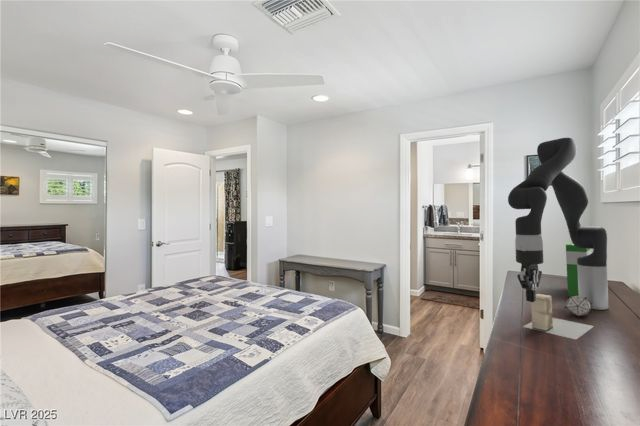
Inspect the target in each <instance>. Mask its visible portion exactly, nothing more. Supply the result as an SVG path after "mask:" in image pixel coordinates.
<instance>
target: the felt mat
mask: <svg viewBox="0 0 640 426" xmlns="http://www.w3.org/2000/svg"><path fill="white" fill-rule="evenodd" d="M552 318H553V328H552V329H550V330H549V331H547V332H545V333H547V334H552V335H554V336H555V335H556V336H559V337H563V338H567V339H572V340H575V341H576V340H578V339H579V338H581V336H584V334H586V333H587V332H589V331H590V330H591V329H593V328H594V327H595V326H594V325H591V324H590V325H589V324H586V323H580V322H576V321H570V320H566V319H561V318H556V317H552ZM522 328H527V329H530V330H534V331H536V330H535V329H532V321H530V322H529V323H528V322H527V324H524V325H522ZM537 331H539V330H537ZM539 332H540V331H539ZM541 332H542V333H544V332H543V331H541Z"/></svg>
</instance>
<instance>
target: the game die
mask: <svg viewBox="0 0 640 426" xmlns="http://www.w3.org/2000/svg"><path fill="white" fill-rule="evenodd" d="M568 297H569V298H568V299H564V301H565V302H566V304H565V306H564V307H563V309H567V310H568V311H569V314H573V315H575V316H577V318H578V319H579V318H580V317H581V316H586V317H589V315H588V314H589V313H590V312H591V313H592V312H594V311H593V309H592V310H591V308H590V304H593V303H589V302H588V301H587V300H586V298H587V297H585V298H583V297H581V296H579V294H577V296H570V295H569V296H568Z"/></svg>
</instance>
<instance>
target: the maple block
mask: <svg viewBox="0 0 640 426" xmlns="http://www.w3.org/2000/svg"><path fill="white" fill-rule="evenodd" d="M535 295H536V301H534V302H530V305H531V306H530V307H531V308H530V309H531V311H530V312H531V322H532V329H531V330H534V329H535V330H534V331H538V330H539V332H542V331H543V332H542V333H546V332H547V331H549V330H550V329H552V328H553V318H554V317H553V300H552V295H549V294H541V293H535Z"/></svg>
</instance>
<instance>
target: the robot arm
mask: <svg viewBox="0 0 640 426" xmlns="http://www.w3.org/2000/svg"><path fill="white" fill-rule="evenodd" d="M536 149H537V150H536V153H537V158H538V160H539V163H540V165H538V166H536V167H535V168H533V170H532V171H531V172H530V173H529V174H528V176H527V177H526V178H525V180H523V181H522V182H520V183H519V184H517V185H516V186H514V187H513V188H512V189H511V190H510V192H509V194H508V196H507V203H508V205H509V207H511V208H513V209H514V210H530V211H529V213H528V214H527V215H523V216H519V217H517V218H516V219H515V240H514V245H515V246H514V247H515V262H516V263H518V264H521V267H520V274H519V273H518V274H517V276H516V277H517V279H518V282H519V284H520V286H521V288H522V289H523V290H525V299H526V301H527V302H529V303H531V302H534V301H536V290H537V289H538V287H539V285H540V283H541V278H542V275H543V273H542V271H541V270H540V269H539V265H541V264H543V263H544V245H543V244H544V243H543V235H542V221H543V220H542V219H543V213H544V212H545V211H544V210H545V209H546V208H545V207H546V204H547V200H548V196H547V193H546V191H547V190H548V188H549V187H550V186H552V189H553V193H554V194H555V197H556V199H557V204H558V205H559V207H560V209H561V212H562V214H563V216H564V220H565V222H566V225H567V229H568V234H569V237H570V239H571V240H570V241H571V242H572V243H573V244H574V246H575V247H578V248H589V249H591V250H592V254H590V255H587V256H582V257H579V258H577V271H578V292H579V296H581V297H583V298H585V297H587V298H586V300H587V301H588V302H589V303H593V304H590V308H591V309H592V310H600V311H601V310H604V311H605V310H608V309H609V286H608V267H607V266H608V265H607V259H608V251H607V250H608V234H607V230H606V229H605V227H603V226H598V225H597V226H594V225H593V226H585V225H582V224H581V223H580V220H581V217H582V215H583V214H584V212H585V211H586V209H587V207H588V204H589V198H588V195H587V192H586V189H585V188H584V187H585V186H583V184H582V183H580V182H579V181H578V180H576V179H575V178H574V177H573V176H570V175H569V174H567V173H565V172H564V171H563V170H564V169H566V167H568V165H569V164H570V163H572V162H573V161H574V160H575V158H576V157H577V153H578V147H577V142H576V141H575V139H573V138H571V137H560V138H556V139H553V140H547V141H543V142H541V143H539V144H538V145H537V148H536Z"/></svg>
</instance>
